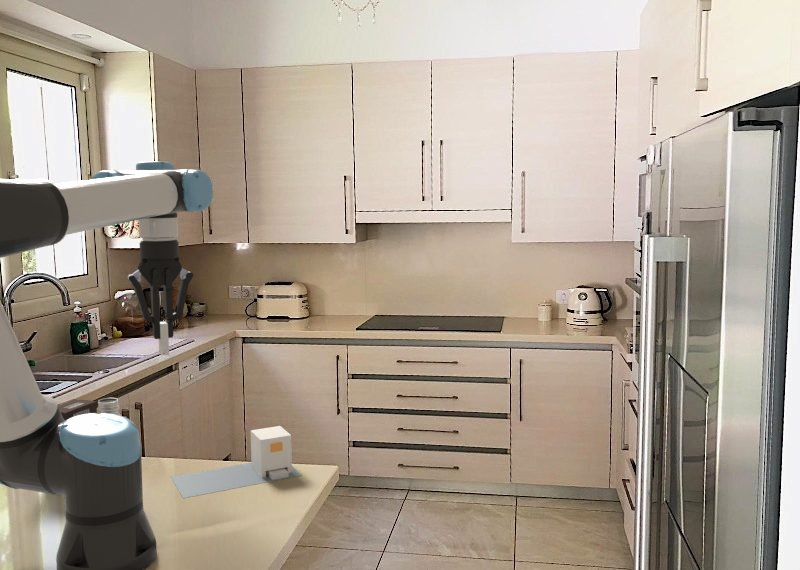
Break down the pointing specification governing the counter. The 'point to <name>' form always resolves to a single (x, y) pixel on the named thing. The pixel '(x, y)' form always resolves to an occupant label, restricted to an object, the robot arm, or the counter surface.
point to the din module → (270, 450)
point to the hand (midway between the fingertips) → (164, 353)
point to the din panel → (226, 479)
